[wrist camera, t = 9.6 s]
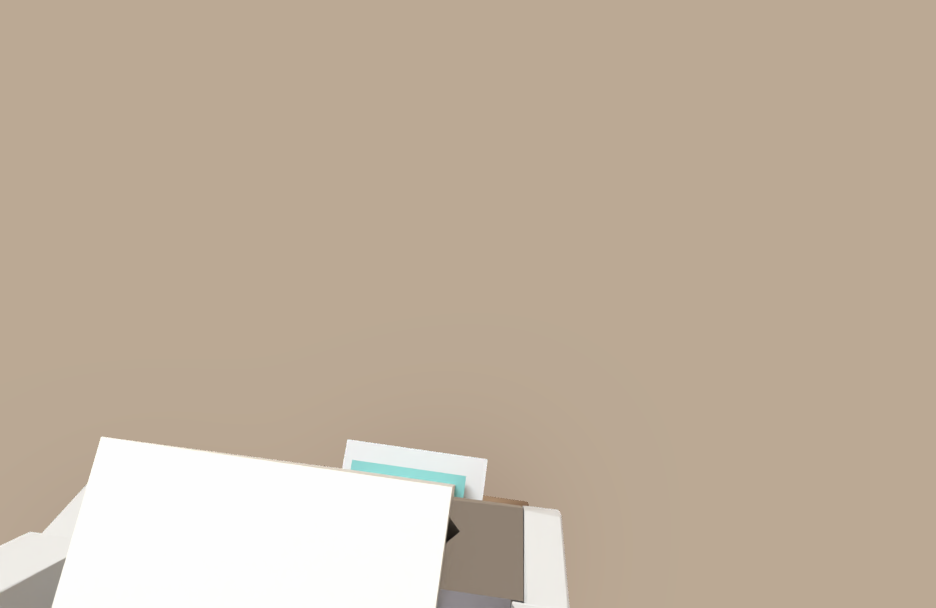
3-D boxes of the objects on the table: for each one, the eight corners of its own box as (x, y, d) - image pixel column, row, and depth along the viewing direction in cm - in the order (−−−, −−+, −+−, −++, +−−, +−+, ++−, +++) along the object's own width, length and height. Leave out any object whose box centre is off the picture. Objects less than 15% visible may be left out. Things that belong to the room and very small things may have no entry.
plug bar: (469, 563, 26) (482, 463, 27) (531, 948, 4) (582, 385, 6) (349, 545, 26) (366, 447, 27) (-157, 838, 5) (24, 307, 6)
